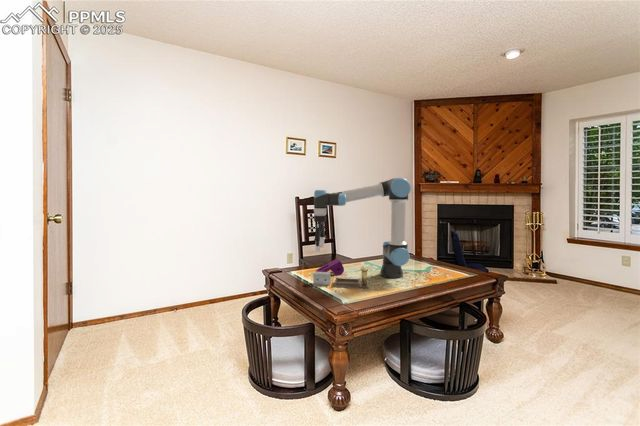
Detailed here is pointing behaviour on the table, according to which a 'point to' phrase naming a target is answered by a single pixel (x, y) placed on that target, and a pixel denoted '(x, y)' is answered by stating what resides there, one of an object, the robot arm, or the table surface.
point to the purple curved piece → (332, 267)
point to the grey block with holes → (321, 278)
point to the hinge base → (353, 281)
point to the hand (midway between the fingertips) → (319, 249)
